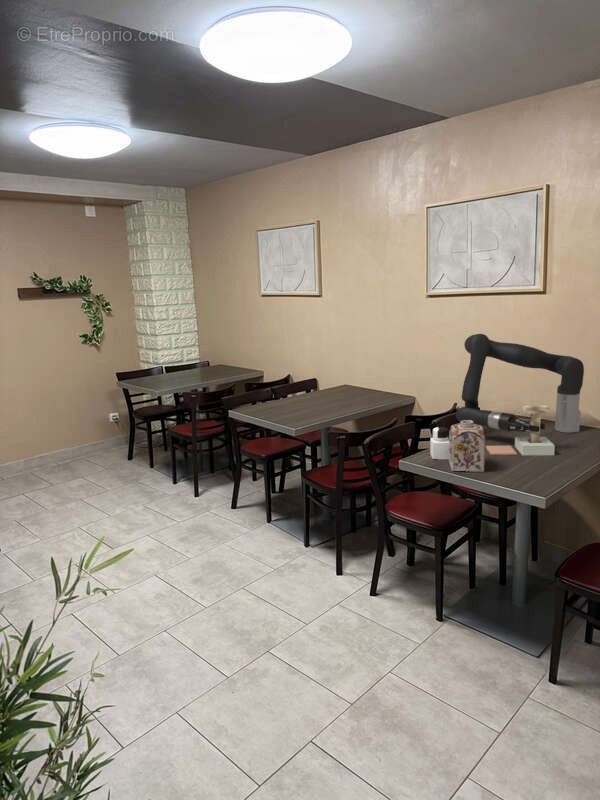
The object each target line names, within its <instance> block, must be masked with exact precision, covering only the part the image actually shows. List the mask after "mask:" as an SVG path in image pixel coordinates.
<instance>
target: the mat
mask: <svg viewBox="0 0 600 800" xmlns="http://www.w3.org/2000/svg"><path fill="white" fill-rule="evenodd" d="M485 449H486V450H487V452H488V453H489V455H491V456H493V455H494V456H495V455H496V456H498V455H499V456H500V455H501V456H506V455H507V456H509V455H517V452H516V450H515V449H514V448H513V447H512V445H485Z"/></svg>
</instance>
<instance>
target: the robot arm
mask: <svg viewBox="0 0 600 800" xmlns="http://www.w3.org/2000/svg"><path fill="white" fill-rule="evenodd" d="M464 349H465V350H466V352H467V353H469V354H470V357H469V358H470V360H469V364H468V365H469V366H468V368H467V371H466V374H465V378H464V380H463V381H464V382H463V385H462V391H461V399H462V401H463V402H464V406H462V407H459V408H458V409H457V410H456V412H455V417H456V420H457V421H458V422H459V423H460V422H461V421H463V420H471V421H473V424H477V425H480V426H482V427H486V428H492V429H494V430H499V431H505V432H524V433H525V432H530V431H535V432H539V431H540V432H541V430H545V429H546V424H545V423H542V422H540V427H539V426H534V425H530V419H531V418H528V417H524V418H522V417H521V418H517V417H516V415H515V414H514V413H510V412H509V413H508V412H503V411H493V410H487V409H479V408H480V407H479V394H480V388H481V382H482V376H483V371H484V367H485V363H486V360H487V357H488V358H491V359H495V360H499V361H502V362H505V363H508V364H512V365H515V366H519V367H522V368H527V369H528V368H529V369H538V370H539V369H541V370H546V371H549V372H551V373H552V372H553V373H555V374H558V375H560V376H561V378H560V379H561V380H560V384H559V385H558V386H557V388H556V389H557V390H556V403H555V404H556V406H555V419H554V420H555V421H554V422H555V423H554V429H555V431H557V432H561V433H576V432H580V429H581V428H580V426H581V425H580V424H581V413H582V412H581V410H580V399H581V398H580V397H581V390H582V388H583V382H584V377H585V375H584V374H585V366H584V363H583V361H582V360H581V359H579V358H576V357H573V356H570V355H562V354H555V353H554V354H553V353H550V352H549V353H548V352H546V351H543V350H541V349H539V348H535V347H532V346H529V345H526V344H525V345H524V344H518V343H512V342H500V341H496V340H493V339H490V338H489V337H488V336H487V335H486V334H485V333H476V334H471V335H470V336H468V337H467V338H466V339H465V340H464Z"/></svg>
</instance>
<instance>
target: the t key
mask: <svg viewBox="0 0 600 800" xmlns="http://www.w3.org/2000/svg"><path fill="white" fill-rule="evenodd" d="M522 409H523V410H522V411H523V412H522V413H524V414H530V418H529V419H530V425H534V426H539V427H540V423H541V417H542V414H549V411H550V410H549V409H550V407H549V406H548V405H547V404H546V405H523V408H522ZM529 437H530V440H529V443H539V440H540V437H541V430H540V431H539V432H535V431H530V430H529Z"/></svg>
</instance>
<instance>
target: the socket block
mask: <svg viewBox="0 0 600 800" xmlns="http://www.w3.org/2000/svg"><path fill="white" fill-rule="evenodd" d="M529 440H530V436H515V437H514V447H515V448H516V450H517V451H518V452H519V453H520V454H521V456H555V449H556V447H555V444H554V443H553V442H551V440H549V438H547V436H540V440H539V443H529Z"/></svg>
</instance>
